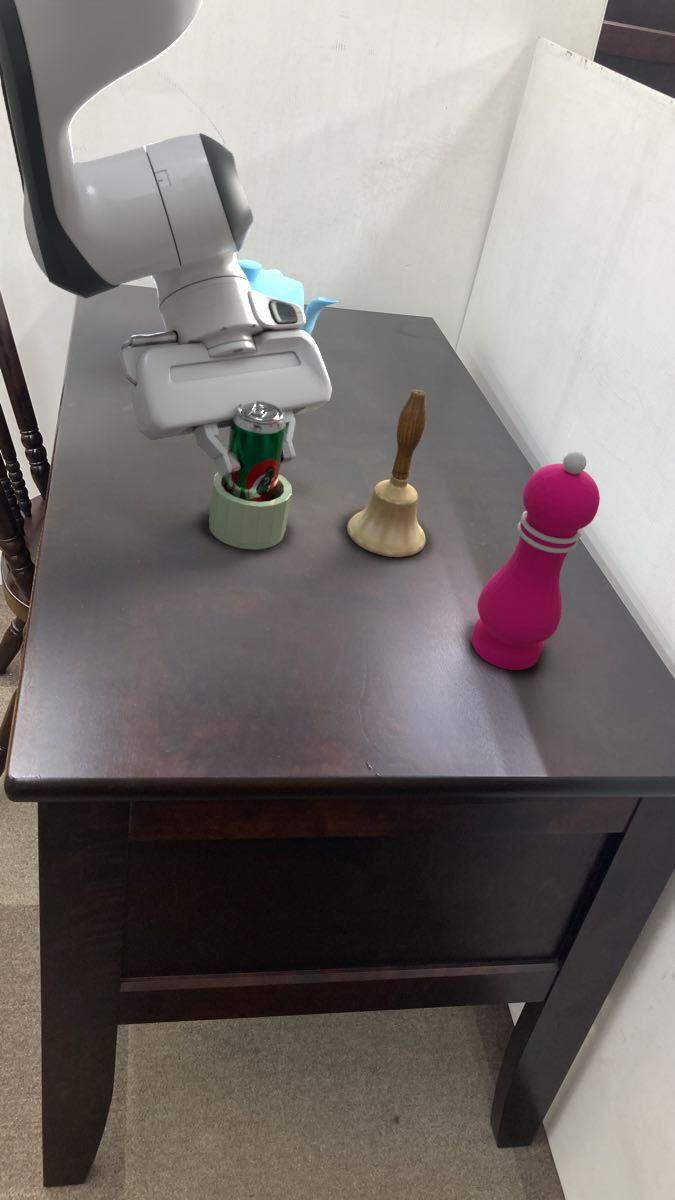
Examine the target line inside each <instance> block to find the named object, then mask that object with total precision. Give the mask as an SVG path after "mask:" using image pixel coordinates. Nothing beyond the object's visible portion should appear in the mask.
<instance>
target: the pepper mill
mask: <svg viewBox="0 0 675 1200" xmlns="http://www.w3.org/2000/svg"><path fill="white" fill-rule="evenodd" d="M586 466H587V459H586V456H585V455H584V453H582V452H580V451H577V450H575V451H570V452H567V454H566V455H565V456H564V457H563V459H562V463H551V464H547V465H544V466H541V467H540V468H538V469H537V470H535V471H534V472H533V473H532V475H531V476H530V477H529V478H528V479H527V481H526V484H525V486H524V489H523V491H522V503H523V506H524V509H525V510H524V511H523V513H522V514H521V516H520V521H519V522H518V524H517V532H518V534H519V539H518V543H517V544H516V547H515V550H514V551H513V553H512V554H511V556H510V558H509V559H508V560H507V561H506V562H505V563H504V564H503V565H502V566H501V567H500V568H499V569H498V570H497V571H496V572H495V573H494V574H493V575H492V576H491V577H490V578H489V579H488V581H487V583H486V584H485V585H484V587H483V588H482V590H481V593H480V595H479V597H478V600H477V613H478V616H479V618H478V619H477V621H476V623H475V626H474V629H473V631H472V634H471V643H472V647H473V649H474V651H475V652H476V654H478V655H479V656H480V657H481V659H483V660H484V661H486V662H487V663H489V664H491V665H493V666H495V667H498V668H500V669H505V670H510V671H522V670H527V669H530V668H532V667H533V666H534V665H535V664H536V663H537V662H538V660H539V658H540V655H541V653H542V651H543V649H544V645H545V642H546V641H547V640H548V639H550V638H551V637H552V636H553V635H554V634H555V633H556V631H557V630H558V627H559V625H560V620H561V617H562V608H563V607H562V603H563V601H562V592H561V588H560V579H561V571H562V568H563V564H564V561H565V559H566V557H567V555H568V553H569V552H572V551H573V550H575V549H576V548H577V546H578V540H579V539H580V538H581V535H582V529H583V528H586V527H587V526H589V525H590V524H591V523H592V521H594V519H595V517H596V515H597V514H598V510H599V506H600V501H601V496H600V490H599V486H598V485H597V482H596V481H595V480H594V479H593V477H592V476H591V475H590V474H589V473H587V472H586V471H585V469H586Z"/></svg>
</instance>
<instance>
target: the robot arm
mask: <svg viewBox="0 0 675 1200" xmlns="http://www.w3.org/2000/svg"><path fill="white" fill-rule="evenodd" d="M204 1H205V0H0V86H1V93H2V97H3V102H4V107H5V111H6V116H7V121H8V124H9V130H10V135H11V139H12V144H13V149H14V155H15V159H16V163H17V167H18V172H19V177H20V182H21V188H22V189H21V190H22V193H23V223H24V224H23V225H24V230H25V235H26V238H27V242H28V245H29V248H30V251H31V253H32V255H33V259H34V260H35V263H36V264H37V265H38V267H39V269H40V270H41V272H42V273H43V274H44V276H45V277H46V278H47V279H48V282H49V283H51V284H52V285H54V286H56V287H58V288H59V289H61V290H64V291H66V292H68V293H71V294H72V295H75V296H77V297H80V298H83V299H87V300H88V299H89V298H92V297H94V296H97V295H99V294H102V293H105V292H108V291H111V290H113V289H116V288H118V287H119V286H121V285H122V284H127V283H129V282H133V281H137V280H140V279H144V278H148V277H151V279H152V280H153V282H154V284H155V285H154V286H155V287H156V292H157V293H156V294H157V307H158V310H159V314H160V316H161V320H162V322H163V323H162V324H163V326H164V329H165V331H163V332H156V333H152V334H135V335H131V336H129V338H128V340H127V341H125V342H124V343H123V344H121V346H120V348H119V353H118V358H119V361H120V362H119V363H120V365H121V368H122V372H123V374H124V377H125V378H126V379H127V381H128V384H129V390H130V397H131V402H132V406H133V407H132V408H133V413H134V417H135V420H136V424H137V427H138V430H139V432H140V433H141V434H143V436H145V437H146V438H147V439H149V440H150V441H157V440H162V439H163V440H164V439H168V438H174V437H178V436H179V437H180V436H185V435H191V434H193V435H194V437H195V441H196V444H197V445H198V446H199V447H200V448H201V450H202V451H204V452H205V454H207V455H208V456H209V457H210V459H212V460H214V463H215V467H216V469H217V473H219V475H220V476H226V475H231V474H235V473H236V472H238V471H240V469H241V466H240V463H239V462H238V461H237V460H238V456H237V454H236V451H235V452H229V453H228V449H227V448H226V447H225V446H224V445H223V444H222V443H221V442H220V440H219V439H218V438H217V437H219V436H220V429H224V428H230V426H231V419H232V418H233V417H234V415H235V413H236V408H237V406H238V405H239V404H242V405H241V408H242V407H243V406H244V405H246V404H249V403H257V402H256V401H262V402H267V403H270V404H273V405H275V406H277V407H278V408H280V409H281V410H282V412H283V419H284V421H285V424H286V429H285V435H284V442H283V449H282V456H281V462H280V465H282V464H287V463H291V462H292V461H294V460H295V459H296V457H297V455H296V454H297V453H296V451H295V447H294V444H293V437H294V433H295V428H296V422H297V421H296V418H295V416H297V415H305V414H308V413H313V412H316V411H318V410H319V409H321V408H322V407H324V406H326V405H327V404H328V403H329V402H330V400H331V396H332V393H333V387H332V382H331V380H330V377H329V373H328V371H327V367H326V364H325V362H324V359H323V357H322V354H321V351H320V349H319V347H318V345H317V343H316V341H315V340H314V338H313V337H312V335H309V334H308V333H307V332H305V331H303V330H300V329H301V328H302V327H303V326H304V325H305V323H306V317H305V314H304V312H305V310H304V311H303V309H302V308H301V307H300V306H299V305H297V304H294V303H291V302H287V301H283V300H279V299H276V298H273V297H270V296H267V295H264V294H261V293H259V292H257V291H252V290H251V288H250V285H249V282H248V280H247V278H246V276H245V274H244V273H243V271H242V270H241V268H240V266H239V264H238V262H237V261H238V259H237V258H238V257H237V252H240V251H241V249H242V248H243V246H244V244H245V242H246V240H247V238H248V236H249V234H250V232H251V229H252V227H253V225H254V215H253V211H252V209H251V206H250V203H249V200H248V198H247V195H246V192H245V190H244V188H243V185H242V181H241V179H240V176H239V173H238V170H237V166H236V159H235V155H234V153H233V152H231V151H230V150H229V149H228V148H227V147H225V146H224V145H223V144H221V143H220V142H219V141H217V140H216V139H214V138H212V137H210V136H208V135H207V134H204V133H201V132H200V133H190V134H184V135H178V136H175V137H171V138H168V139H163V140H160V141H156V142H152V143H148V144H145V145H143V146H141V147H137V148H132V149H130V150H125V151H122V152H119V153H114V154H111V155H107V156H103V157H100V158H96V159H92V160H89V161H80V162H75V161H74V159H75V158H74V151H73V146H72V136H71V124H72V123H73V120H74V119H75V117H76V115H77V114H78V113H79V111H80V110H81V109H82V108H83V107H84V106H85V105H86V104H87V103H88V102H90V101H91V100H92V99H93V98H95V97H96V96H97V95H99V94H100V93H101V92H103V91H104V90H105V89H107V88H108V87H110V86H111V85H112V84H114V83H116V82H117V81H119V80H121V79H123V78H124V77H126V76H128V75H130V74H131V73H133V72H135V71H137V70H138V69H140V68H142V67H144V66H146V65H148V64H149V63H151V62H153V61H155V60H156V59H159V57H161V56H162V55H164V54H165V53H166V52H168V50H170V49H171V48H172V47H173V46H174V45H175V44H176V43H177V42H178V41H179V40H180V39H181V38H182V37H183V36H184V34H185V33H186V32H187V30H188V29H189V28H190V26H191V25H192V23H193V22H194V20H195V19H196V17H197V15H198V14H199V12H200V10H201V8H202V6H203V3H204Z"/></svg>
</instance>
